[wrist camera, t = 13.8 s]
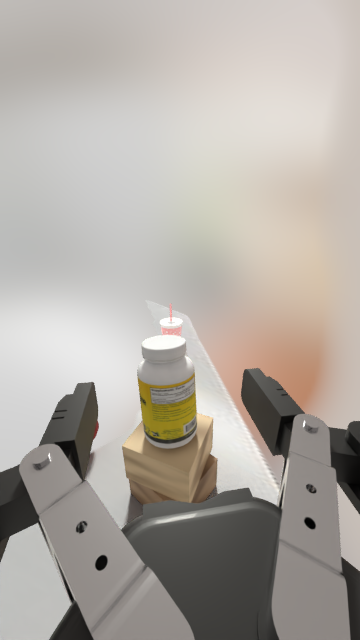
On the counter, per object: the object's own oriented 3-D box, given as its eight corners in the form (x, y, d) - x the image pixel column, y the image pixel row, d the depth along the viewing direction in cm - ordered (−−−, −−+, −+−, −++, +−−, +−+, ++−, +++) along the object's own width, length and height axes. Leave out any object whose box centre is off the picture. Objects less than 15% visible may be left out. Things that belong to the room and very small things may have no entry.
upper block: (189, 507, 25) (188, 473, 23) (126, 477, 28) (122, 445, 27) (212, 447, 32) (213, 417, 30) (159, 429, 35) (157, 401, 33)
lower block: (176, 541, 27) (175, 512, 25) (131, 493, 32) (127, 466, 30) (216, 486, 32) (217, 458, 30) (172, 452, 37) (171, 427, 35)
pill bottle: (148, 415, 31) (140, 333, 28) (196, 413, 31) (192, 331, 28) (139, 452, 25) (127, 353, 22) (198, 451, 25) (193, 350, 22)
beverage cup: (185, 355, 65) (184, 306, 60) (163, 358, 64) (160, 308, 59) (180, 345, 71) (179, 299, 66) (160, 347, 70) (157, 301, 65)
